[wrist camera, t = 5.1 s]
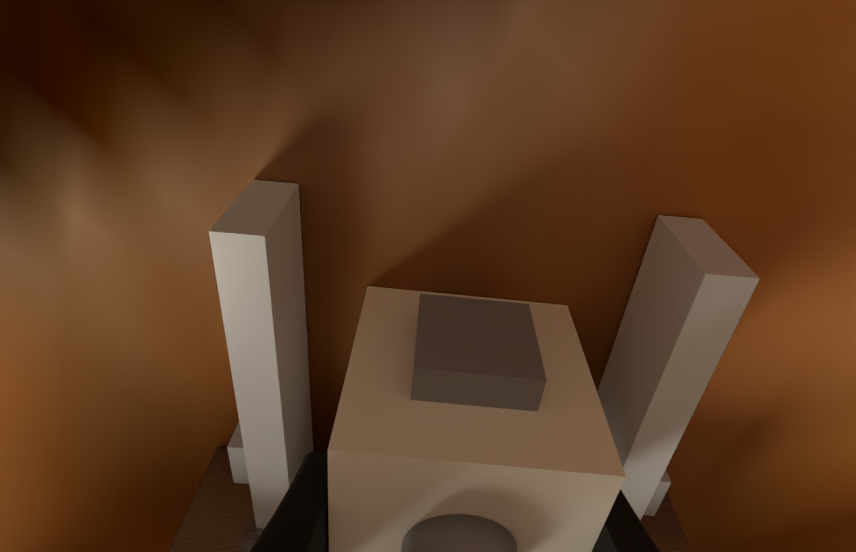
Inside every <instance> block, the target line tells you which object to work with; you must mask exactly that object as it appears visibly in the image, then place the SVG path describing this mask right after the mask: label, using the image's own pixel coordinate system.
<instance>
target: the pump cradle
mask: <svg viewBox="0 0 856 552" xmlns="http://www.w3.org/2000/svg"><path fill="white" fill-rule="evenodd" d="M209 236H210V242H211V248H212V255H213V261H214V267H215V273H216V280H217V286H218V292H219V298H220V304H221V311H222V317H223V323H224V329H225V336H226V342H227V348H228V354H229V360H230V367H231V373H232V379H233V385H234V392H235V398H236V404H237V410H238V416H239V422H238V424H237V426H236V428H235V431H234V433H233V435H232V437H231V439H230V442H229V444H228V446H227V449H228V455H229V460H230V466H231V471H232V476H233V482H234V483H242V484H249V485H250V491H251V497H252V504H253V510H254V516H255V522H256V528H264V529H265V527H266V525H267V524H268V522H269V521H270V519H271V518H272V516H273V514H274V513H275V511H276V509H277V508H278V506H279V504H280V503H281V501H282V499H283V498H284V496H285V494H286V492H287V491H288V489H289V487H290V485H291V483H292V481H293V480H294V478H295V476H296V474H297V472H298V470H299V468H300V466H301V464H302V462H303V460H304V458H305V455H306V454H308V453H309V452H311V451H312V452H313V434H312V416H311V398H310V380H309V362H308V344H307V326H306V308H305V289H304V271H303V253H302V235H301V217H300V199H299V184H296V183H284V182H273V181H261V180H253V181H252V182H251V183H250V184H249V185H248V186H247V188H246V189H245V190H244V191H243V192H242V193H241V195H240V196H239V197H238V198H237V199H236V200H235V201H234V203H233V204H232V205H231V206H230V207H229V208H228V210H227V211H226V212H225V213H224V214H223V215H222V217H221V218H220V219H219V220H218V221H217V222H216V223H215V225H214V226H213V227H212V228H211V229H210V230H209ZM759 279H760V278H759V277H758V276H757V275H756V274H755V273H754V272H753V271H752V270H751V269H750V268H749V267H748V266H747V264H746V263H745V262H744V261H743V260H742V259H741V258H740V257H739V256H738V255H737V254H736V253H735V252H734V251H733V250H732V249H731V248H730V247H729V246H728V245H727V244H726V243H725V242H724V241H723V240H722V239H721V238H720V236H719V235H718V234H717V233H716V232H715V231H714V230H713V229H712V228H711V227H710V226H709V225H708V224H707V223H706V222H705V221H704V220H703V219H698V218H686V217H675V216H663V215H658V217H657V220H656V223H655V226H654V229H653V232H652V234H651V237H650V240H649V243H648V246H647V249H646V252H645V255H644V258H643V260H642V263H641V266H640V269H639V272H638V275H637V278H636V281H635V284H634V287H633V289H632V292H631V295H630V298H629V301H628V304H627V307H626V310H625V313H624V316H623V318H622V321H621V324H620V327H619V330H618V333H617V336H616V339H615V342H614V345H613V347H612V350H611V353H610V356H609V359H608V362H607V365H606V368H605V371H604V374H603V376H602V379H601V382H600V385H599V388H598V391H597V393H598V396H599V399H600V402H601V405H602V408H603V411H604V414H605V417H606V420H607V423H608V426H609V429H610V431H611V434H612V437H613V440H614V443H615V446H616V449H617V452H618V455H619V458H620V461H621V464H622V467H623V470H624V473H625V475H626V478H625V480H624V482H623V484H622V486H621V490H622V492H623V494H624V495H625V497H626V499H627V500H628V502H629V504H630V505H631V507H632V508H633V510H634V512H635V513H636V515H637V516H638V518H639V520H641V518H642V516H643V515H650V516H654V515H655V513H656V511H657V510H658V508H659V506H660V504H661V502H662V500H663V498H664V496H665V494H666V492H667V490H668V488H669V486H670V484H671V480H670V478H669V476H668V473H667V471H666V468H667V466H668V464H669V462H670V460H671V458H672V456H673V454H674V451H675V449H676V447H677V445H678V443H679V441H680V439H681V437H682V435H683V433H684V431H685V429H686V427H687V425H688V423H689V421H690V419H691V417H692V415H693V413H694V411H695V409H696V407H697V405H698V403H699V401H700V399H701V397H702V395H703V393H704V391H705V389H706V387H707V385H708V383H709V381H710V379H711V377H712V375H713V373H714V370H715V368H716V366H717V364H718V362H719V360H720V358H721V356H722V354H723V352H724V350H725V348H726V346H727V344H728V342H729V340H730V338H731V336H732V334H733V332H734V330H735V328H736V326H737V324H738V322H739V320H740V318H741V316H742V314H743V312H744V310H745V308H746V306H747V304H748V302H749V300H750V298H751V296H752V294H753V292H754V290H755V287H756V285H757V283H758V281H759Z"/></svg>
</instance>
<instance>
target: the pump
mask: <svg viewBox="0 0 856 552" xmlns="http://www.w3.org/2000/svg"><path fill="white" fill-rule="evenodd" d="M625 478H626V475H625V473H624V470H623V467H622V464H621V461H620V458H619V455H618V452H617V449H616V446H615V443H614V440H613V437H612V434H611V431H610V429H609V426H608V423H607V420H606V417H605V414H604V411H603V408H602V405H601V402H600V399H599V396H598V393H597V390H596V387H595V385H594V382H593V379H592V376H591V373H590V370H589V367H588V364H587V361H586V358H585V355H584V352H583V349H582V346H581V344H580V341H579V338H578V335H577V332H576V329H575V326H574V323H573V320H572V317H571V314H570V311H569V308H568V305H560V304H549V303H539V302H529V301H518V300H508V299H497V298H487V297H477V296H466V295H456V294H445V293H435V292H425V291H414V290H404V289H393V288H383V287H373V286H367V290H366V294H365V298H364V302H363V306H362V310H361V314H360V318H359V323H358V327H357V331H356V335H355V339H354V343H353V347H352V351H351V355H350V360H349V364H348V368H347V372H346V376H345V380H344V384H343V388H342V393H341V397H340V401H339V405H338V409H337V413H336V417H335V421H334V426H333V430H332V434H331V438H330V442H329V446H328V524H329V552H592V550H593V547H594V545H595V543H596V541H597V539H598V536H599V534H600V532H601V530H602V528H603V526H604V523H605V521H606V519H607V517H608V515H609V513H610V510H611V508H612V506H613V504H614V502H615V499H616V497H617V495H618V493H619V491H620V489H621V486H622V484H623V482H624V480H625Z"/></svg>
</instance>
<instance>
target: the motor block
mask: <svg viewBox="0 0 856 552" xmlns="http://www.w3.org/2000/svg"><path fill="white" fill-rule="evenodd" d="M640 521H641V523H642V524H643V526H644V528H645V529H646V531H647V532H648V534H649V535H650V537H651V539H652V540H653V542H654V543H655V545H656V546H657V548H658V549H659V551H660V552H691V551H690V548H689V546H688V543H687V541H686V538H685V536H684V533H683V531H682V528H681V526H680V524H679V521H678V519H677V516H676V514H675V511H674V509H673V506H672V504H671V501H670V499H669V497H668V494H667V492H666V494H665V496H664V498H663V500H662V502H661V504H660V506H659V508H658V510H657V511H656V513H655V515H654V516H650V515H643V516H642V518H641V520H640ZM263 530H264V528H256V522H255V516H254V510H253V504H252V497H251V491H250V485H249V484H242V483H234V482H233V476H232V471H231V466H230V460H229V455H228V449H227V448H218V447H217V449H216V451H215V453H214V455H213V457H212V460H211V462H210V464H209V466H208V468H207V470H206V472H205V475H204V477H203V479H202V481H201V483H200V485H199V487H198V490H197V492H196V494H195V496H194V498H193V500H192V502H191V504H190V507H189V509H188V511H187V513H186V515H185V517H184V519H183V522H182V524H181V526H180V528H179V530H178V532H177V534H176V537H175V539H174V541H173V543H172V545H171V547H170V549H169V552H250V550H251V549H252V547H253V546H254V544H255V543H256V541H257V540H258V538H259V536H260V535H261V533H262V532H263Z"/></svg>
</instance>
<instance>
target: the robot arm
mask: <svg viewBox="0 0 856 552" xmlns="http://www.w3.org/2000/svg"><path fill="white" fill-rule="evenodd" d="M250 552H329V524H328V453H325V452H312V451H311V452H309V453H308V454H306V455H305V458H304V460H303V462H302V464H301V466H300V468H299V470H298V472H297V474H296V476H295V478H294V480H293V481H292V483H291V485H290V487H289V489H288V491H287V492H286V494H285V496H284V498H283V499H282V501H281V503H280V504H279V506H278V508H277V509H276V511H275V513H274V514H273V516H272V518H271V519H270V521H269V522H268V524H267V525H266V527H265V529H264V530H263V532H262V533H261V535H260V536H259V538H258V540H257V541H256V543H255V544H254V546H253V547H252V549H251V550H250ZM592 552H660V551H659V549H658V548H657V546H656V545H655V543H654V542H653V540H652V539H651V537H650V535H649V534H648V532H647V531H646V529H645V528H644V526H643V524H642V523H641V521H640V520H639V518H638V516H637V515H636V513H635V512H634V510H633V508H632V507H631V505H630V504H629V502H628V500H627V499H626V497H625V495H624V494H623V492H622V490H621V489H620V491H619V493H618V495H617V497H616V499H615V502H614V504H613V506H612V508H611V510H610V513H609V515H608V517H607V519H606V521H605V523H604V526H603V528H602V530H601V532H600V534H599V536H598V539H597V541H596V543H595V545H594V547H593V550H592Z"/></svg>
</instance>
